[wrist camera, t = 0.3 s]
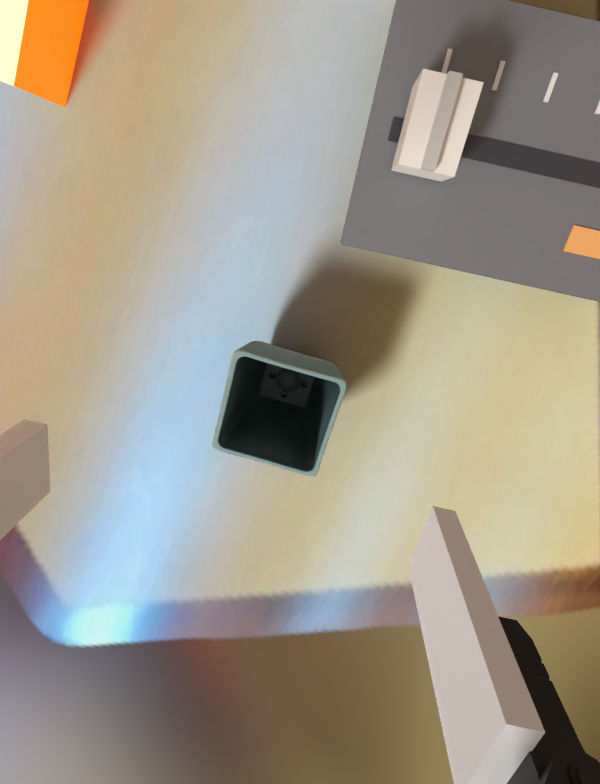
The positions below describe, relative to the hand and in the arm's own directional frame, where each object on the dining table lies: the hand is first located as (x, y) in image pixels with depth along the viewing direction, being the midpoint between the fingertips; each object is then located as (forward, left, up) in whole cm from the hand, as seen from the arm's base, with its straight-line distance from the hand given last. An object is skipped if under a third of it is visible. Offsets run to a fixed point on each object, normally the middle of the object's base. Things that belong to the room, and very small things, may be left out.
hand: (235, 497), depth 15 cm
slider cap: (-16, +6, -22) cm, 28 cm away
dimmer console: (-16, +13, -27) cm, 33 cm away
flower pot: (+5, 0, -27) cm, 27 cm away
